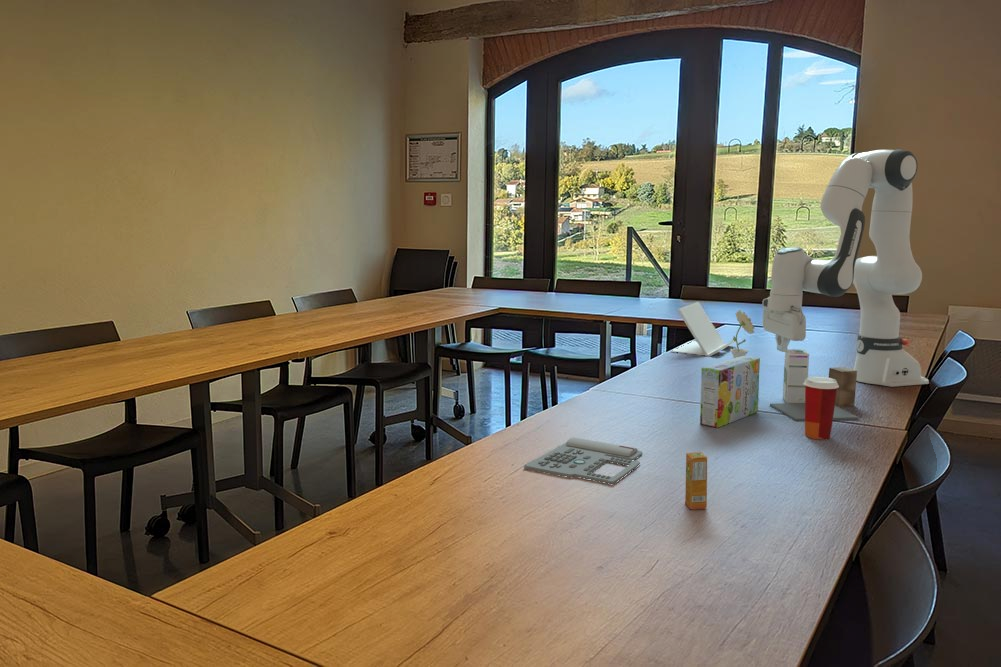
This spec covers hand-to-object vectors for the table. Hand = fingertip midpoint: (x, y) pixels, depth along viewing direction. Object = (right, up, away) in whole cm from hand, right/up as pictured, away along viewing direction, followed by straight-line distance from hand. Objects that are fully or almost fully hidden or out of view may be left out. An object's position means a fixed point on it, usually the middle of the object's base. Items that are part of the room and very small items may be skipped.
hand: (781, 351), depth 220 cm
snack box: (-23, -17, -24) cm, 37 cm away
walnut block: (+13, -15, -9) cm, 22 cm away
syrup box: (+1, -14, -7) cm, 16 cm away
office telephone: (-63, -23, -57) cm, 88 cm away
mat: (+2, -16, -18) cm, 24 cm away
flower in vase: (-14, -13, -1) cm, 19 cm away
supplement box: (-46, -27, -81) cm, 97 cm away
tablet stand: (-4, -1, +70) cm, 70 cm away
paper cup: (-6, -20, -39) cm, 44 cm away
